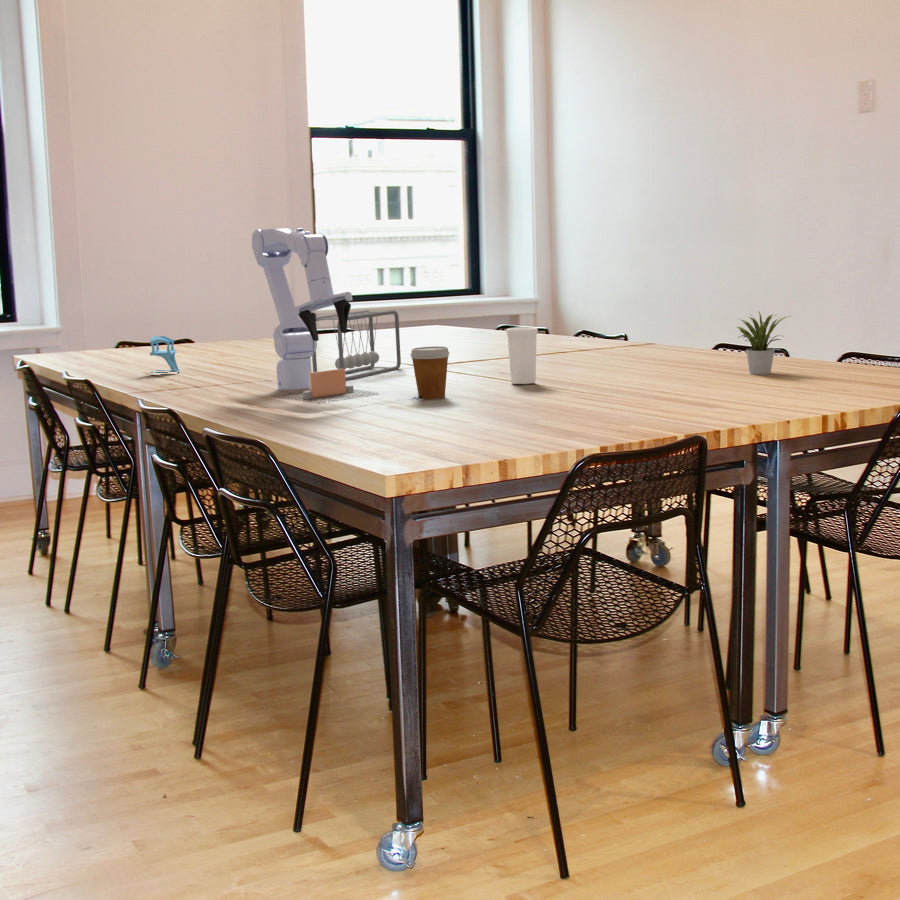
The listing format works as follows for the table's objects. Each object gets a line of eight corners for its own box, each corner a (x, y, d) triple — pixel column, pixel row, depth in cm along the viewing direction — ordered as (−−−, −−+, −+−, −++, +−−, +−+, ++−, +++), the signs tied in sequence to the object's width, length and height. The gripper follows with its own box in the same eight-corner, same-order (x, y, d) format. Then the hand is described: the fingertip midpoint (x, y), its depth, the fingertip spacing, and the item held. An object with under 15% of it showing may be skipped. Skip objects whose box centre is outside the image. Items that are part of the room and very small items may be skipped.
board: (269, 400, 275) (268, 390, 274) (335, 390, 288) (334, 380, 287) (319, 408, 258) (318, 397, 258) (387, 397, 271) (386, 387, 271)
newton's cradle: (343, 382, 306) (339, 317, 303) (312, 381, 311) (308, 317, 308) (401, 369, 332) (398, 309, 328) (373, 368, 337) (369, 309, 333)
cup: (537, 385, 281) (535, 329, 278) (505, 386, 283) (503, 330, 280) (541, 381, 289) (539, 326, 286) (510, 382, 291) (508, 327, 288)
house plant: (787, 369, 292) (788, 306, 289) (798, 375, 279) (799, 310, 276) (732, 370, 294) (732, 308, 291) (740, 377, 280) (741, 312, 277)
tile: (310, 397, 270) (308, 372, 269) (344, 392, 276) (342, 368, 275) (312, 397, 269) (311, 373, 268) (346, 392, 275) (344, 368, 274)
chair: (175, 375, 341) (172, 336, 338) (148, 376, 341) (145, 337, 339) (181, 372, 348) (178, 334, 346) (155, 373, 348) (152, 335, 346)
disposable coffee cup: (417, 401, 262) (415, 351, 260) (408, 397, 271) (405, 348, 269) (456, 398, 264) (454, 348, 262) (445, 394, 273) (443, 345, 271)
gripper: (285, 287, 268) (296, 341, 267) (339, 271, 264) (350, 326, 263) (298, 292, 275) (308, 345, 274) (351, 276, 271) (361, 330, 269)
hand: (329, 336), depth 269 cm, fingers open, 7 cm apart
